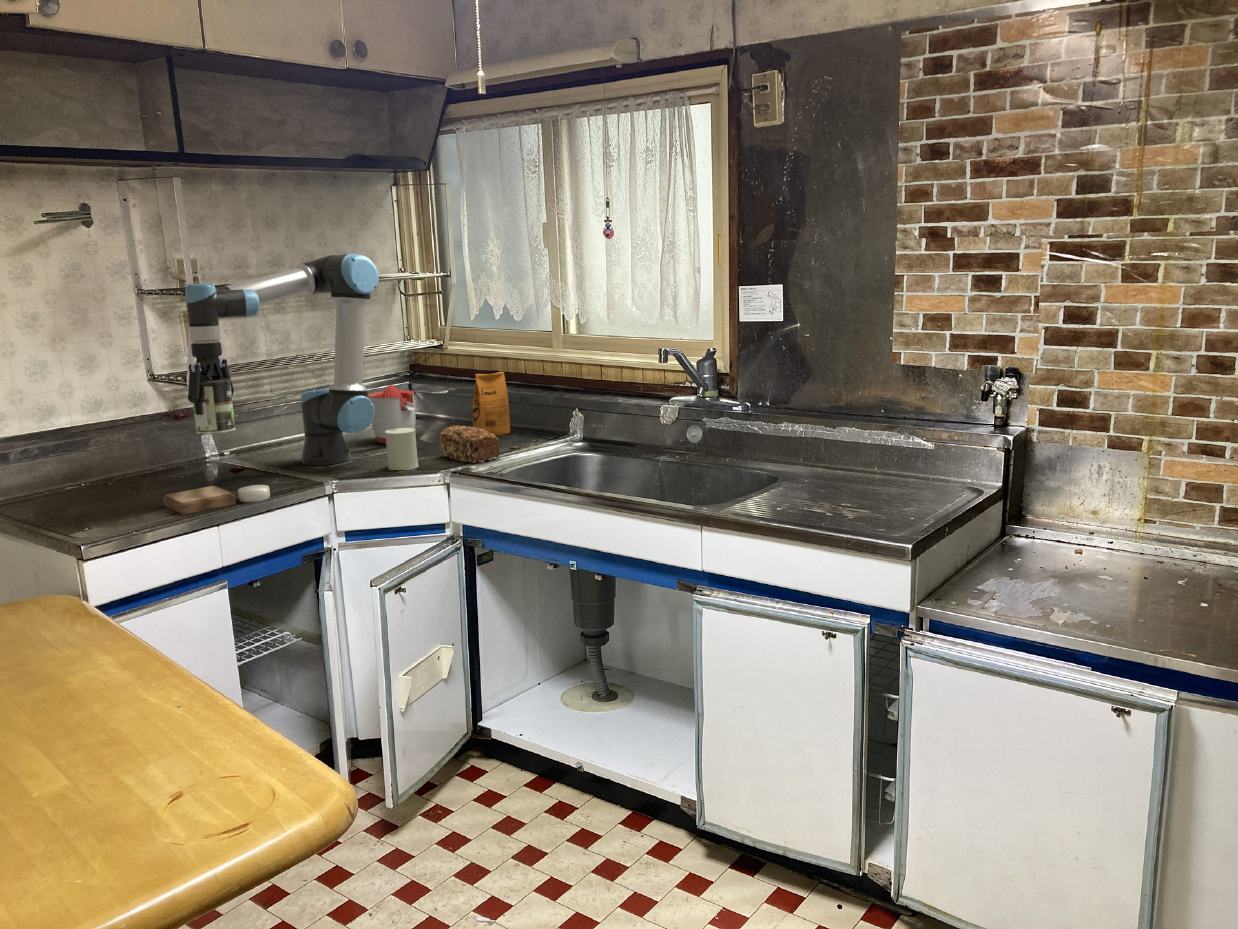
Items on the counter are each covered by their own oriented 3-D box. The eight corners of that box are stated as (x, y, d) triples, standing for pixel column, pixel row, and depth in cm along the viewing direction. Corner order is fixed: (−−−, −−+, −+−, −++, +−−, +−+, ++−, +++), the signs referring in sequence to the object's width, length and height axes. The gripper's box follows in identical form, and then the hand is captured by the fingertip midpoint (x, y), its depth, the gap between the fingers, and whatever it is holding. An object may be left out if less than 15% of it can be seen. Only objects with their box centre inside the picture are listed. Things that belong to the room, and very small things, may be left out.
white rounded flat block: (263, 493, 272) (261, 483, 271) (275, 498, 266) (273, 488, 265) (234, 499, 267) (233, 488, 266) (246, 504, 261) (245, 493, 260)
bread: (440, 457, 311) (437, 426, 309) (467, 451, 318) (465, 421, 316) (474, 465, 298) (472, 433, 296) (502, 459, 305) (500, 428, 303)
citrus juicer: (399, 447, 327) (394, 389, 323) (362, 444, 336) (357, 386, 332) (431, 439, 340) (426, 382, 336) (395, 435, 349) (390, 380, 345)
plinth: (216, 495, 271) (214, 485, 270) (236, 503, 261) (234, 493, 260) (164, 505, 262) (162, 494, 261) (182, 514, 252) (180, 503, 251)
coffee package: (471, 433, 348) (467, 372, 343) (504, 430, 353) (500, 369, 348) (479, 438, 339) (474, 375, 334) (512, 434, 344) (509, 372, 339)
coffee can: (235, 426, 273) (229, 377, 270) (236, 432, 264) (231, 380, 261) (195, 430, 269) (189, 379, 266) (195, 435, 260) (189, 383, 257)
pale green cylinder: (402, 463, 304) (399, 425, 301) (424, 465, 299) (421, 427, 297) (381, 469, 296) (378, 430, 294) (404, 471, 292) (400, 432, 289)
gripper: (218, 338, 273) (226, 416, 278) (166, 345, 251) (176, 430, 256) (242, 338, 272) (250, 416, 276) (192, 345, 250) (201, 430, 255)
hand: (214, 423), depth 266 cm, fingers closed on coffee can, 10 cm apart
